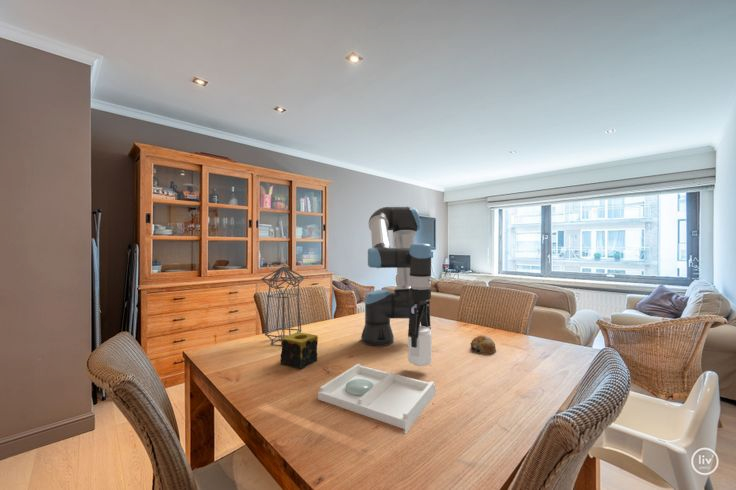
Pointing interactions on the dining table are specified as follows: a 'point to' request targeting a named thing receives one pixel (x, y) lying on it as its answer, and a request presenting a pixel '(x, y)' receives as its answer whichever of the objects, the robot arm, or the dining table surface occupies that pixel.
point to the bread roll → (483, 345)
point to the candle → (299, 350)
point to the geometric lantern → (282, 299)
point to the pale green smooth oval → (358, 387)
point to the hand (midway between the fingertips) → (419, 351)
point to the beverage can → (422, 347)
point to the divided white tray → (381, 395)
